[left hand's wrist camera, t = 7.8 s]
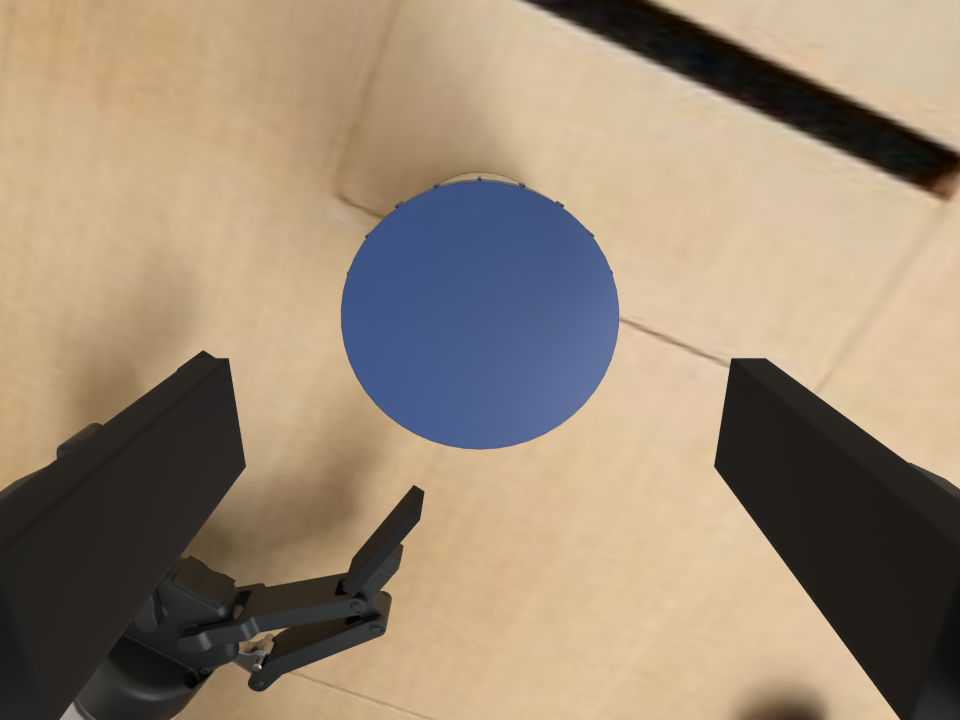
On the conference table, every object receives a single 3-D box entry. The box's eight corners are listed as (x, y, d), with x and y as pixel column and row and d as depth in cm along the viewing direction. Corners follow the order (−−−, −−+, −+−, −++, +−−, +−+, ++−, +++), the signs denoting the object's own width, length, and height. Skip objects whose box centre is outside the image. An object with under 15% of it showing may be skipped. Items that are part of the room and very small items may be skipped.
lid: (338, 176, 20) (325, 179, 18) (620, 175, 20) (633, 178, 18) (359, 428, 23) (350, 451, 21) (600, 427, 23) (610, 450, 21)
